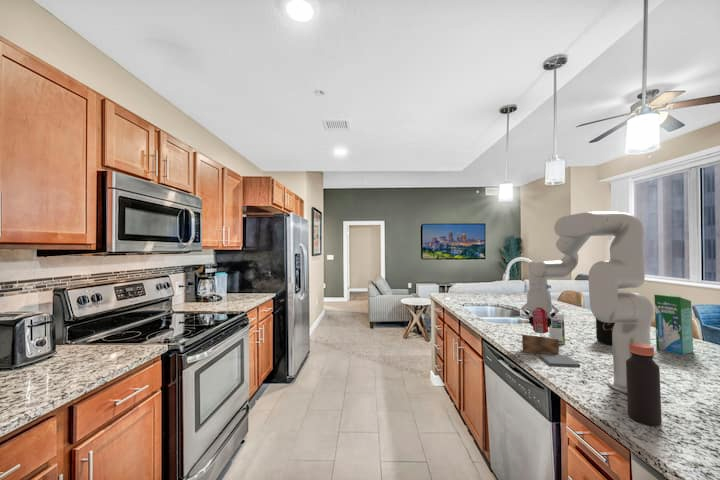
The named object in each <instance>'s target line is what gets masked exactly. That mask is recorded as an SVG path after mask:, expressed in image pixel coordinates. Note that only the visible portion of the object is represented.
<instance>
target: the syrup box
mask: <svg viewBox="0 0 720 480" xmlns="http://www.w3.org/2000/svg"><path fill="white" fill-rule="evenodd" d="M553 312H554V311H551V312H549V313H550V314H551V313H553ZM565 330H566V329H565V314H564V313H563V312H558V313H557V314H556V315H555V316H553V317H552V318H551V325H550V327H548V333H549V338H558V341H559V345H566V336H565V332H566V331H565Z"/></svg>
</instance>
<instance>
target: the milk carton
mask: <svg viewBox="0 0 720 480" xmlns="http://www.w3.org/2000/svg"><path fill="white" fill-rule="evenodd" d="M653 296H654V298H653V299H654V318H655V319H654V320H655V323H654V324H655V340H656V341H655V345H656V347H655V348H656V349H657V350H660V351H665V352H668V353H673V354H676V355H687V354H691V353H694V339H693V336H694V334H693V315H692V314H693V312H692V300H689V299H686V298H685V297H684V298H683V297H681V296H680V295H676V294H668V295H664V294H663V295H662V294H653Z"/></svg>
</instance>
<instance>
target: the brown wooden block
mask: <svg viewBox="0 0 720 480" xmlns="http://www.w3.org/2000/svg"><path fill="white" fill-rule="evenodd" d="M521 338H522V340H521V341H522V342H521V343H522V344H521V345H522V352H523V353H526V354H534V355H538V354H552V355H560V350H559V349H560V348H559V346H560V344H559V341H558V338H550V337H548V336H537V335H530V334H529V335H528V334H522V335H521Z"/></svg>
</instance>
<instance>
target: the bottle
mask: <svg viewBox="0 0 720 480" xmlns="http://www.w3.org/2000/svg"><path fill="white" fill-rule="evenodd" d="M630 353H631V354H632V357H630V358H629V359H628V360H626V377H627V393H626V397H627V398H626V399H627V401H626V402H627V415H628V417H629V418H630V419H632V420H633V421H634V422H637V423H639V424H643V425H647V426H652V427H654V426H655V427H656V426H657V427H658V426H660V425H662V422H663V421H662V418H663V417H662V397H661V396H662V395H661V394H662V393H661V373H660V371H661V370H660V366H659V365H658V363H657V362H656V361H654V360H653V358H654V357H655V347H654V346H653V345H651V344H650V345H648V344H643V343H630Z"/></svg>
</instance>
